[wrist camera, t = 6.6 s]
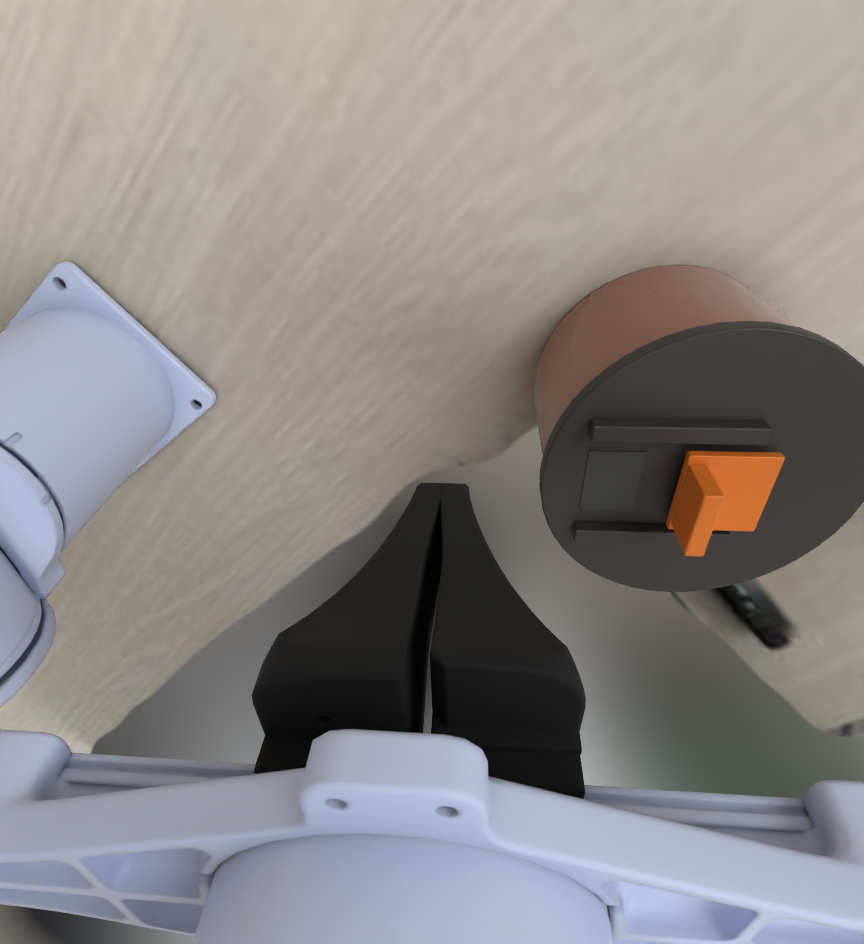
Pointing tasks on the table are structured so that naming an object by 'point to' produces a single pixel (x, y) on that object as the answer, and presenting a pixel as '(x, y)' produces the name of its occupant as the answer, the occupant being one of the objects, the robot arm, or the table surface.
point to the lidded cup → (691, 426)
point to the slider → (720, 494)
